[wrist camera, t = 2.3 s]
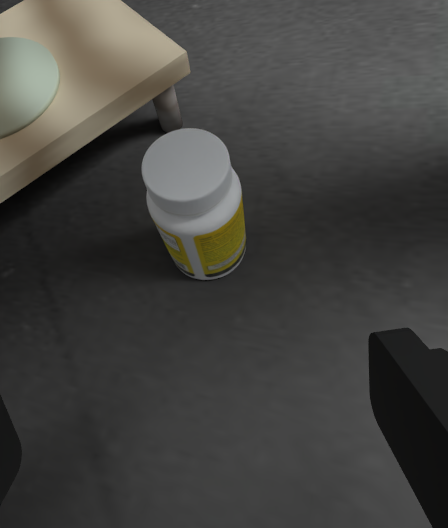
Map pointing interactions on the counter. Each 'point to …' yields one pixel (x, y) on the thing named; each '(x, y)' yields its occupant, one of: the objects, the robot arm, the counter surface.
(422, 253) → the counter surface
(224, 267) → the supplement bottle
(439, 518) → the robot arm
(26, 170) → the shelf stand
